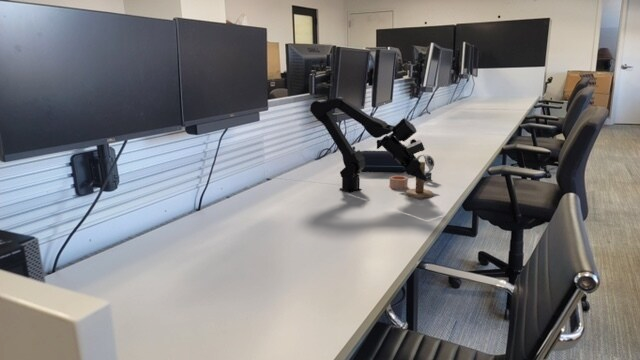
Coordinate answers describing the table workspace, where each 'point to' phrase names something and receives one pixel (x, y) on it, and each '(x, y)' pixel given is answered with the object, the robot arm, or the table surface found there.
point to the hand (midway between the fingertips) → (423, 177)
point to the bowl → (398, 182)
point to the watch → (429, 163)
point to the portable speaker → (381, 162)
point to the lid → (420, 187)
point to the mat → (419, 198)
